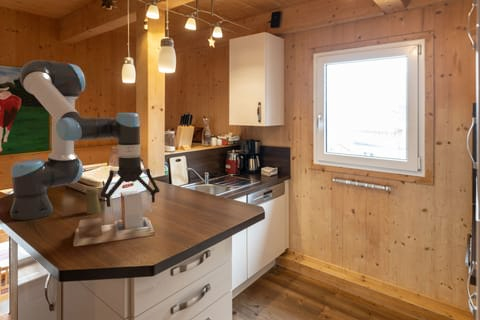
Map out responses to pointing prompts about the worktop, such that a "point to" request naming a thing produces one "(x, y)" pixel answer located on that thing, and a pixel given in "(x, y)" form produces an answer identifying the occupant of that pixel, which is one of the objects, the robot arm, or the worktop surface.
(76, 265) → the worktop surface
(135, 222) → the small box
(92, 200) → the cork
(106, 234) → the board
